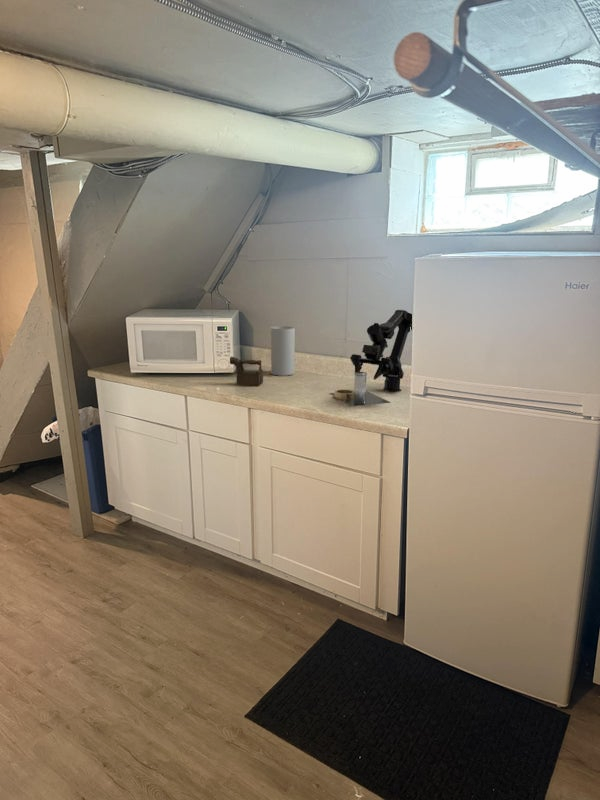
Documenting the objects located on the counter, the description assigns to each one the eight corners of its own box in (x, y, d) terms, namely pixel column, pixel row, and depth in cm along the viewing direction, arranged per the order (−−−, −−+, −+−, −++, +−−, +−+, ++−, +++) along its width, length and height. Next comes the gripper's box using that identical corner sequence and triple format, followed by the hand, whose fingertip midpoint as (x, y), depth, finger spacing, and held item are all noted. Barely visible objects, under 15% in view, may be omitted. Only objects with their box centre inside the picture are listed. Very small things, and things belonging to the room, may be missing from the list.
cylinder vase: (297, 372, 302) (298, 327, 296) (288, 377, 291) (288, 329, 285) (277, 370, 307) (277, 325, 301) (267, 375, 296) (267, 328, 290)
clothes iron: (234, 381, 280) (233, 355, 277) (264, 383, 277) (264, 356, 273) (228, 384, 273) (228, 357, 269) (259, 386, 269) (259, 359, 266)
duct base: (365, 392, 260) (366, 385, 259) (390, 404, 238) (391, 396, 237) (327, 395, 253) (328, 388, 253) (350, 408, 232) (350, 400, 231)
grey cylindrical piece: (362, 400, 240) (363, 371, 237) (367, 403, 236) (368, 373, 232) (351, 401, 239) (352, 372, 235) (356, 404, 234) (357, 374, 231)
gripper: (352, 335, 243) (339, 364, 237) (391, 339, 233) (379, 369, 227) (360, 351, 251) (347, 379, 245) (398, 355, 241) (386, 384, 235)
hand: (364, 377), depth 238 cm, fingers open, 9 cm apart
